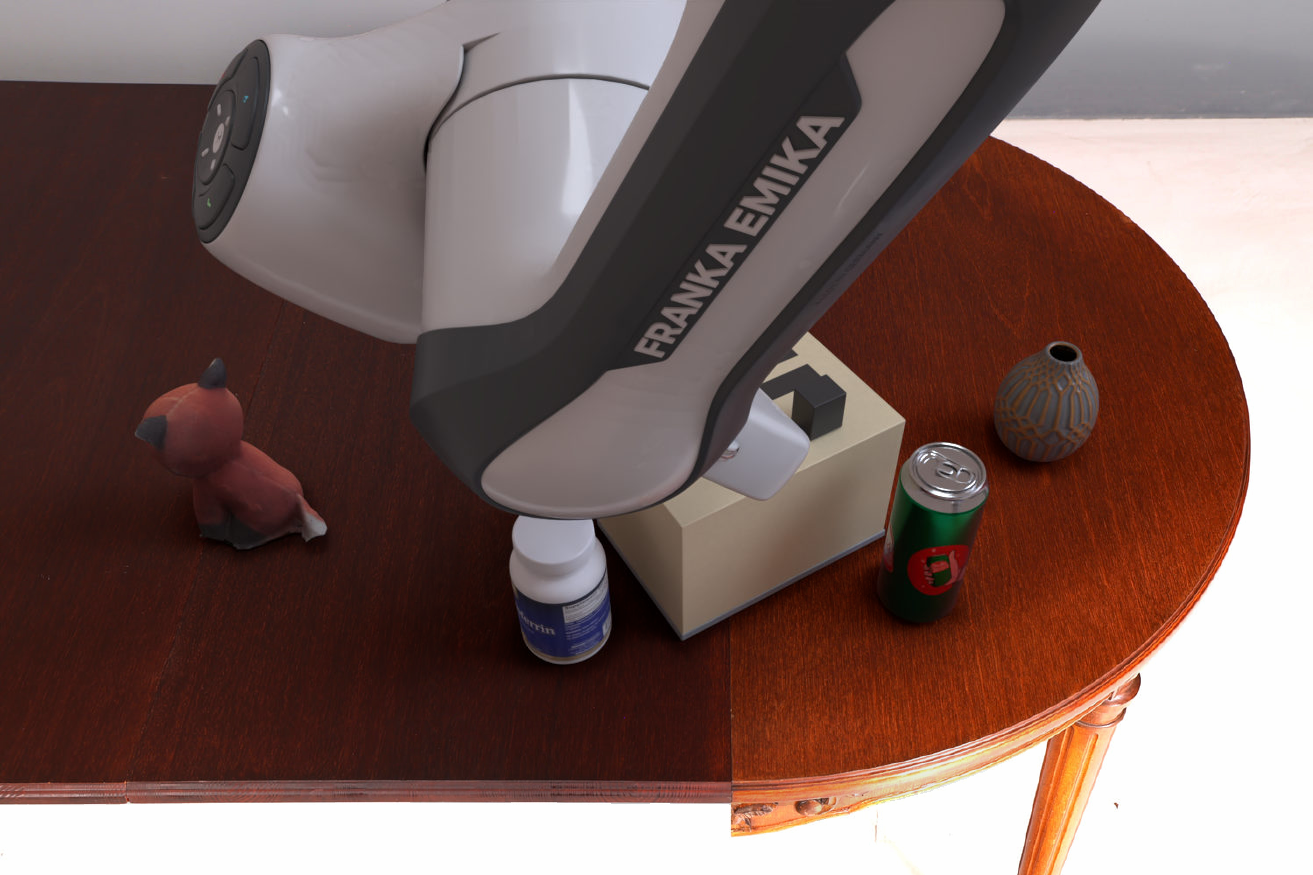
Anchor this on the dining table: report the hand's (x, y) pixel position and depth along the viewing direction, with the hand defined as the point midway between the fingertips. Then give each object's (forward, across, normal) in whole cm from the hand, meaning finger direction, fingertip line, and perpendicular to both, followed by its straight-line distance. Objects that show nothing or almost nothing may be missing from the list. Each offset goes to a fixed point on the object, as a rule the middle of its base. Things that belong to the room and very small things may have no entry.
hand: (735, 381), depth 56 cm
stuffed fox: (-5, +21, +30) cm, 37 cm away
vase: (+31, -1, -6) cm, 31 cm away
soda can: (+19, -7, +6) cm, 21 cm away
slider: (+9, 0, 0) cm, 9 cm away
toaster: (+14, +3, +10) cm, 18 cm away
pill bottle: (+5, +2, +20) cm, 21 cm away
